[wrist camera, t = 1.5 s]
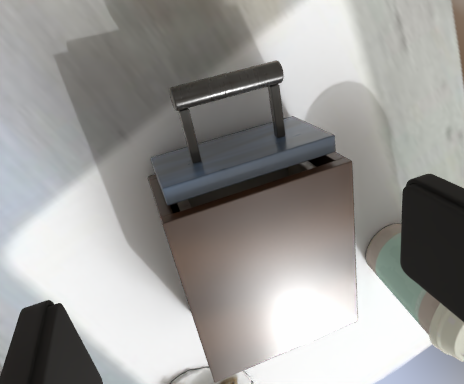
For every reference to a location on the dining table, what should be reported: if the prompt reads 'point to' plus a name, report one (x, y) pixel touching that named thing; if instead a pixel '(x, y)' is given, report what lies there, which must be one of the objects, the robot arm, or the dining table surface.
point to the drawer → (236, 143)
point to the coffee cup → (414, 293)
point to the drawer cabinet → (267, 264)
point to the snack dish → (210, 378)
